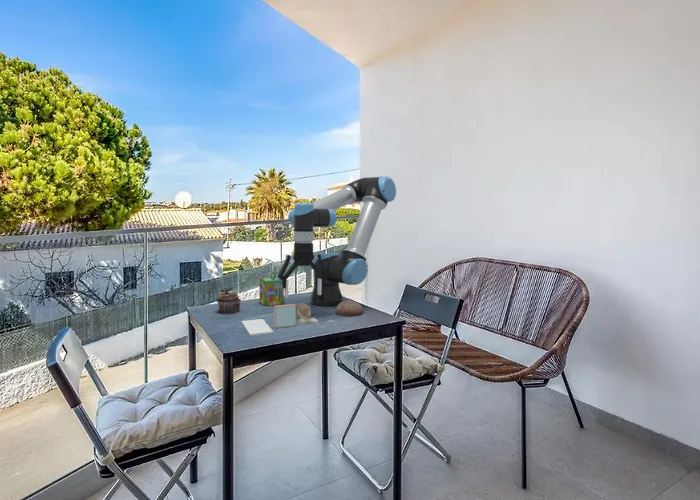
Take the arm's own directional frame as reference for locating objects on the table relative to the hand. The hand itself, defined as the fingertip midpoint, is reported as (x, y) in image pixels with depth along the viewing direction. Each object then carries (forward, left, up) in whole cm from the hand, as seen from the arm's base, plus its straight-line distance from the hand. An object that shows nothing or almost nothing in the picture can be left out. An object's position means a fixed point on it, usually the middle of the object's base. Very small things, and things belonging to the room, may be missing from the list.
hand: (303, 295), depth 161 cm
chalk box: (+6, -31, -9) cm, 33 cm away
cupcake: (+26, -23, -9) cm, 35 cm away
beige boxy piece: (0, +2, -9) cm, 9 cm away
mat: (+20, +6, -9) cm, 22 cm away
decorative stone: (-20, -1, -10) cm, 23 cm away
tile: (+10, +8, -9) cm, 16 cm away
